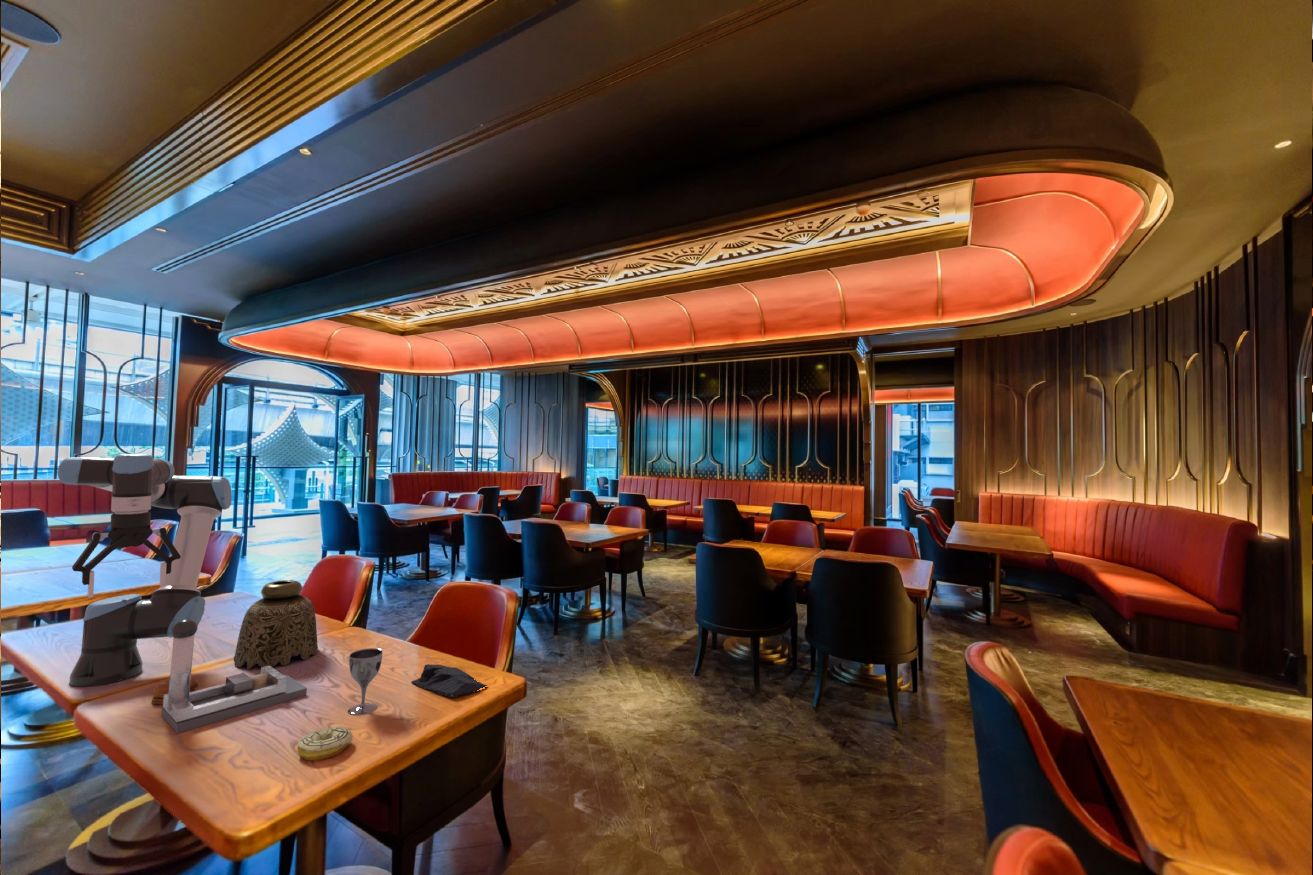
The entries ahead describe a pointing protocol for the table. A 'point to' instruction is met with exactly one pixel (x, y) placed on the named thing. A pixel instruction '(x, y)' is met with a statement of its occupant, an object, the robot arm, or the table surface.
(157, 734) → the table surface
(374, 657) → the wine glass
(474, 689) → the black crumpled cloth
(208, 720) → the press bench
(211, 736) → the table surface
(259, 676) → the nut
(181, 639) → the press ram
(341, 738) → the decorated donut
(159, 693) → the burger
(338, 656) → the table surface
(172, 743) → the table surface
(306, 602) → the lamp shade
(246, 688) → the grey rectangular block
